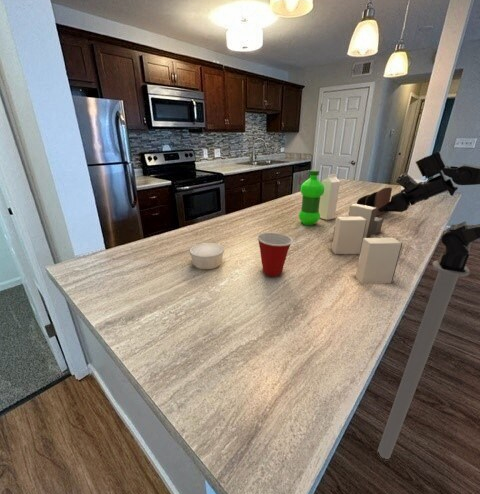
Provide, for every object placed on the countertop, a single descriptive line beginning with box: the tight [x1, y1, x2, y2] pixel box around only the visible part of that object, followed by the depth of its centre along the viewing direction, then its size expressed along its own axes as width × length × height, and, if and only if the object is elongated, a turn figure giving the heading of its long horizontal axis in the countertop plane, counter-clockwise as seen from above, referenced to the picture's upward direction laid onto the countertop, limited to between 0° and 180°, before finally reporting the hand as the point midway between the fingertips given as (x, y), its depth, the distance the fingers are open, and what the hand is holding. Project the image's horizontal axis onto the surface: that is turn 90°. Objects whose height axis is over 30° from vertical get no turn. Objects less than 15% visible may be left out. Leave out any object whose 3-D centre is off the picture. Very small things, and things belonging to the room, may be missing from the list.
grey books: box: [332, 216, 384, 242], centre depth 111 cm, size 9×26×6 cm, turn 133°
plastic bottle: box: [298, 169, 324, 226], centre depth 122 cm, size 10×10×25 cm
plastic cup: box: [256, 231, 294, 277], centre depth 81 cm, size 11×11×12 cm
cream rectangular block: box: [347, 203, 377, 238], centre depth 109 cm, size 9×4×13 cm, turn 43°
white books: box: [331, 216, 403, 285], centre depth 86 cm, size 9×24×13 cm, turn 3°
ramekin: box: [189, 242, 225, 270], centre depth 87 cm, size 11×11×5 cm
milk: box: [319, 173, 341, 221], centre depth 131 cm, size 6×6×22 cm
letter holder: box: [356, 187, 393, 217], centre depth 141 cm, size 10×20×14 cm, turn 132°
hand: (382, 207), depth 99 cm, fingers open, 9 cm apart
